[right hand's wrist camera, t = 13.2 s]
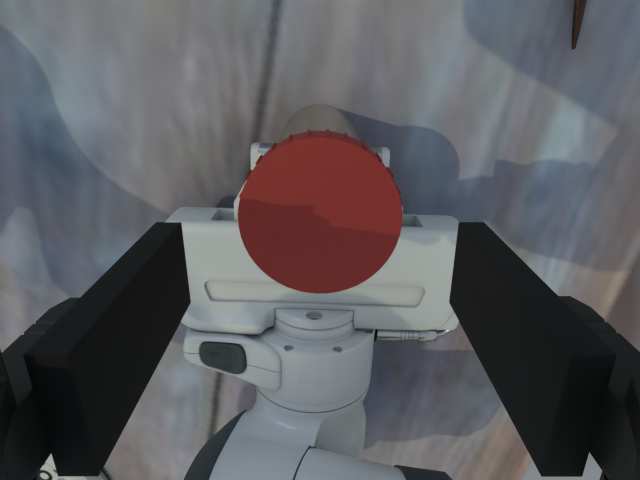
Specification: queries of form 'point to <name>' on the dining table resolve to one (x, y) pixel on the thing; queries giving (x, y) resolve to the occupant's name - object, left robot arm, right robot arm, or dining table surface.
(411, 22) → the dining table surface
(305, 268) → the lid
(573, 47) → the fork
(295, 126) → the jar
